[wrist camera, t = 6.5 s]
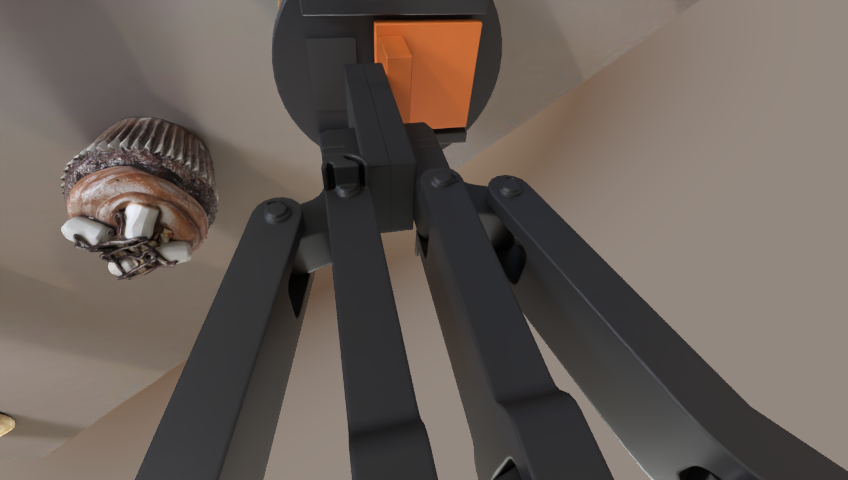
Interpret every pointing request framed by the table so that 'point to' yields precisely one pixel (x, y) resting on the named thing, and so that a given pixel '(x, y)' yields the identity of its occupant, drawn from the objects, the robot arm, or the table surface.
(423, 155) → the robot arm
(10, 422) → the hand bell
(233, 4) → the table surface
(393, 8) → the mug lid
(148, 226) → the cupcake
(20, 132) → the table surface
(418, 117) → the slider
